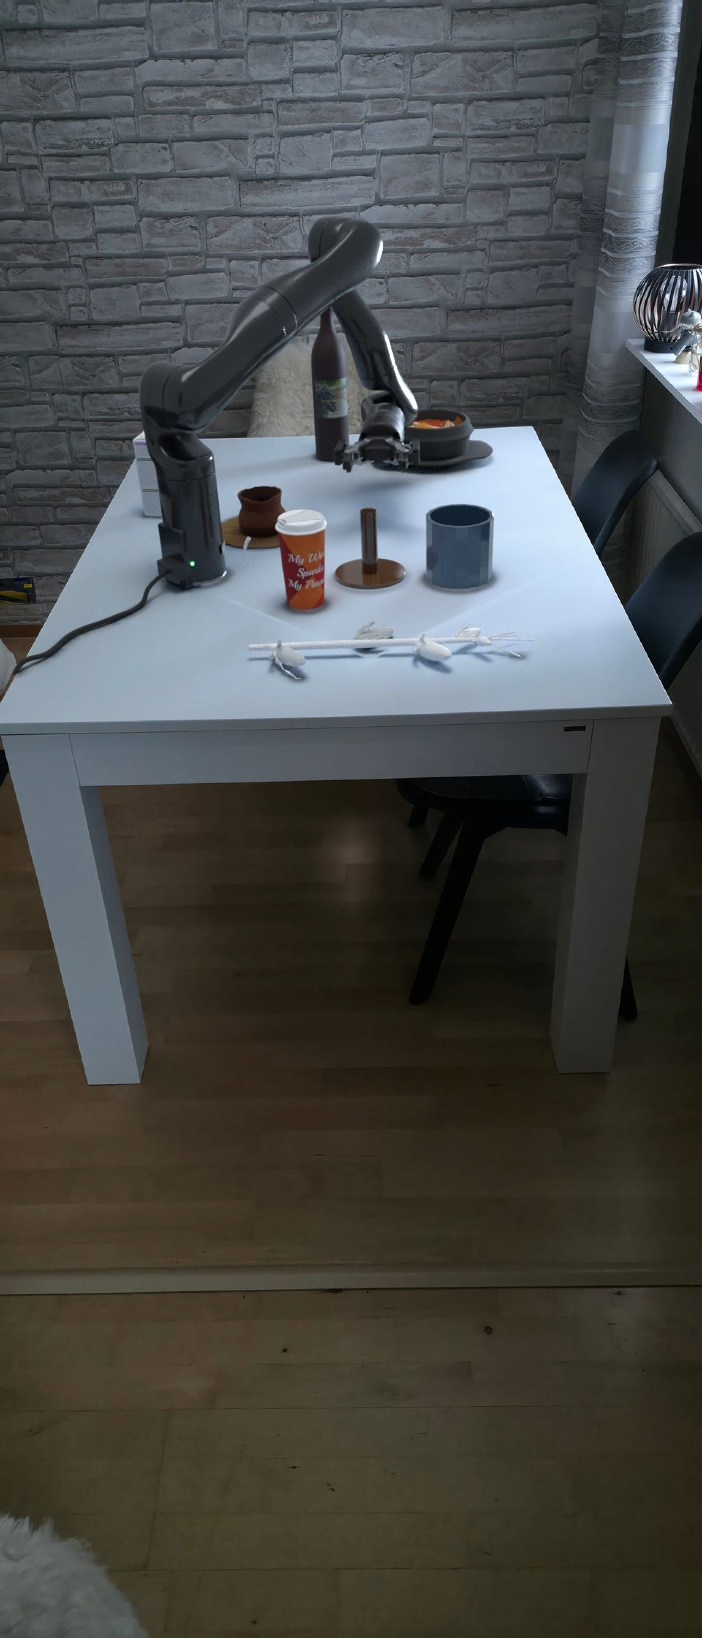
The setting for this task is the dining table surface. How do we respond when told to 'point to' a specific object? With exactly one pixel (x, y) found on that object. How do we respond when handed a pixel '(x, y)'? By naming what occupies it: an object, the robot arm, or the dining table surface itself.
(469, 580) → the blue faceted canister
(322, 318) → the wine bottle
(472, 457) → the casserole
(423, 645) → the dried plant stem
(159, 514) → the syrup box
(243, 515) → the ceramic pot
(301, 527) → the paper cup
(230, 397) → the robot arm
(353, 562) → the paper towel holder
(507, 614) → the dining table surface
